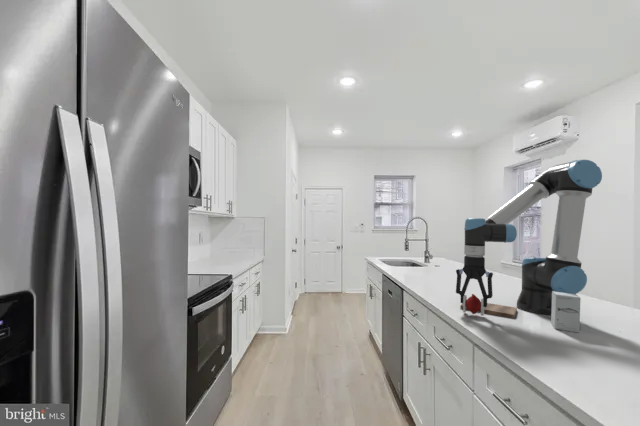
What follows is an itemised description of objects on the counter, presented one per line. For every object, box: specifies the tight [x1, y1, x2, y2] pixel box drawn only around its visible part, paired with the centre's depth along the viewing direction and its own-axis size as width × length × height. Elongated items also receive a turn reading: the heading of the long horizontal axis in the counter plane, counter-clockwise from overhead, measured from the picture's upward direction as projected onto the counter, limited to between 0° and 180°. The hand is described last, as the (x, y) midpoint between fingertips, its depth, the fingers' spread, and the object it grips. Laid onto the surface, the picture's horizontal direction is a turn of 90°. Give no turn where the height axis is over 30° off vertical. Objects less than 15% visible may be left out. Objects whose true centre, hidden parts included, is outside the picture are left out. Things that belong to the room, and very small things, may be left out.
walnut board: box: [459, 302, 518, 319], centre depth 138 cm, size 20×14×2 cm
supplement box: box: [550, 291, 581, 334], centre depth 117 cm, size 7×7×13 cm
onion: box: [466, 293, 481, 315], centre depth 129 cm, size 6×6×8 cm
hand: (473, 313), depth 129 cm, fingers closed on onion, 6 cm apart
